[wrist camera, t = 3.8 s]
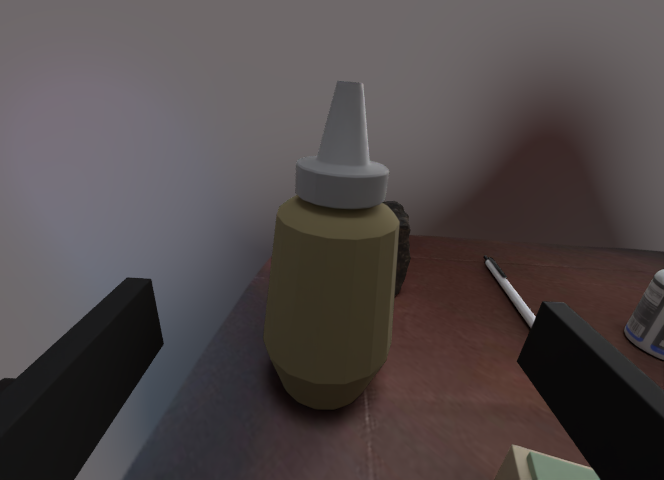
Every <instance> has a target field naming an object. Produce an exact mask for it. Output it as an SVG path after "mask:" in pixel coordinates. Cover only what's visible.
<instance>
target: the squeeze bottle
mask: <svg viewBox="0 0 664 480" xmlns="http://www.w3.org/2000/svg"><path fill="white" fill-rule="evenodd" d="M388 177H389V170H388V169H387V167H386V166H385V165H382V164H380V163H377V162H374V161H370V160H369V149H368V137H367V126H366V113H365V101H364V89H363V83H356V82H344V81H337V85H336V88H335V92H334V96H333V100H332V103H331V107H330V111H329V114H328V118H327V122H326V125H325V130H324V133H323V137H322V140H321V144H320V148H319V152H318V155H317V156H311V157H305V158H302V159H299V160H298V161H297V164H296V188H295V193H296V194H297V195H296V196H294V197H292V198H291V199H289V200H287V201H286V202H285V203H283V204H282V205H281V206H280V207H279V209H278V213H277V217H276V226H275V235H274V244H273V253H272V262H271V271H270V280H269V290H268V299H267V308H266V317H265V326H264V335H263V340H264V343H265V346H266V348H267V351H268V354H269V357H270V359H271V361H272V363H273V365H274V367H275V369H276V371H277V373H278V375H279V377H280V380H281V382H282V384H283V386H284V388H285V390H286V391H287V392H288V393H289V394H290V395H291V396H292V397H293V398H294V399H295V400H296V401H297V402H298V403H301V404H303V405H306V406H308V407H311V408H313V409H328V410H335V409H337V408H340V407H343V406H346V405H348V404H351V403H352V402H353V401H354V400H355V399H356V398H357V397H358V396H359V395H360V394H361V393H362V392H363V391H364V390H365V388H366V387H367V386H368V384H369V383H370V382H371V380H372V379H373V378H374V376H375V375H376V373H377V372H378V371H379V369H380V368H381V367H382V365H383V364H384V363H385V361H386V359H387V356H388V352H389V349H390V345H391V337H392V323H393V309H394V294H395V280H396V266H397V252H398V237H399V223H400V222H399V220H398V218H397V217H396V215H395V214H394V212H393V211H392V210H391V209H390V208H389V207H388V206H387V205H385V204H384V203H382V202H383V201H384V199H385V196H386V190H387V183H388Z"/></svg>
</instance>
